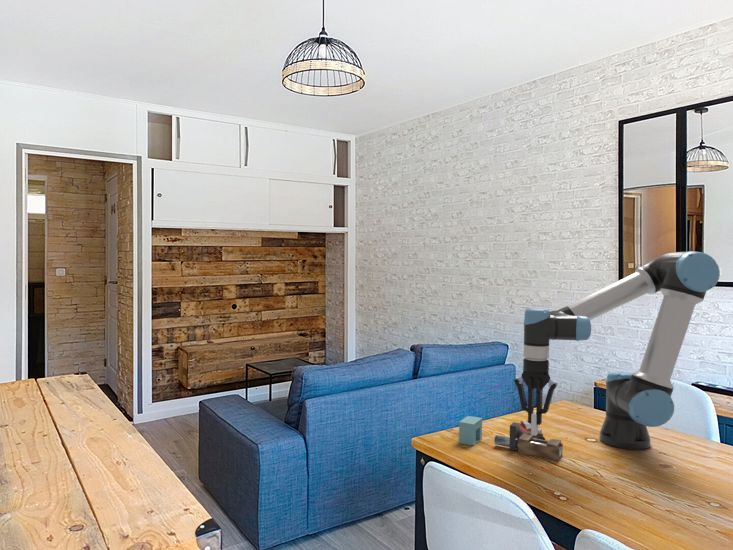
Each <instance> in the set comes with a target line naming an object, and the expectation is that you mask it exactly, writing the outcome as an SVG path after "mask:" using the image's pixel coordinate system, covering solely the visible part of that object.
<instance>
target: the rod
mask: <svg viewBox="0 0 733 550" xmlns="http://www.w3.org/2000/svg"><path fill="white" fill-rule="evenodd" d="M520 424H521V422H520V423H519V422H512V423H511V424H510V425H509V436H504V435H499V434H495V436H494V441H493V442H494V445H496V446H501V447H505V448H506V447H507V448H508V449H509V450H512V451H518V439H519V438H520V437H519V432H520ZM530 442H531V443H537V444H542V445H547V444H544V443H538V442H533V441H530ZM558 447H559V457H561V453H562V454H563V449H562V448H561V447H560V446H558ZM561 458H562V457H561Z"/></svg>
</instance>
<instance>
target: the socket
mask: <svg viewBox="0 0 733 550" xmlns="http://www.w3.org/2000/svg"><path fill="white" fill-rule="evenodd" d="M458 422H459V423H458V443H459V444H462V445H466V444H467V446H471V445H474V446H475V445H477V444H478V443H479V442H480V441H482V439H483V418H482V417H477V416H470V415H467V416H466V417H463V419H461V420H460V421H458ZM477 442H478V443H477Z"/></svg>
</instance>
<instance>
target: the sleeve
mask: <svg viewBox="0 0 733 550" xmlns="http://www.w3.org/2000/svg"><path fill="white" fill-rule="evenodd" d="M530 441H533V442H538V443H544V444H547V445H542V444H537V443H531V442H530ZM563 444H564V443H563V442H562V440H561V439H555V438H550V439H549V440H546V439H545V440H542V439H536V438H533V435H528V434H523V435H522V436H521V437H519V439H518V449H517V452H518V454H519V453H520V455H524V454H525V455H526V456H531V457H534V456H536V457H535V458H539V457H541V459H545V458H546V459H545V460H550V461H555V462H559V461H560V460H561V458H562V457H563V452H562V453H561V457H559V447H558V446H560V447H561V448H562V450H563Z"/></svg>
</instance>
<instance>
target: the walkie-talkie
mask: <svg viewBox="0 0 733 550" xmlns="http://www.w3.org/2000/svg"><path fill="white" fill-rule="evenodd" d="M539 426H540V425H538V434H537V435H536V436H534V435H533V438H536V439H542V440H546V438H545V437H544V433H543V432H542V430H543V429H542V428H540V427H539ZM523 434H528V435H531V423H528V420H521V421H520V432H519V436H520V437H521V436H522V435H523ZM520 437H519V438H520Z"/></svg>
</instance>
